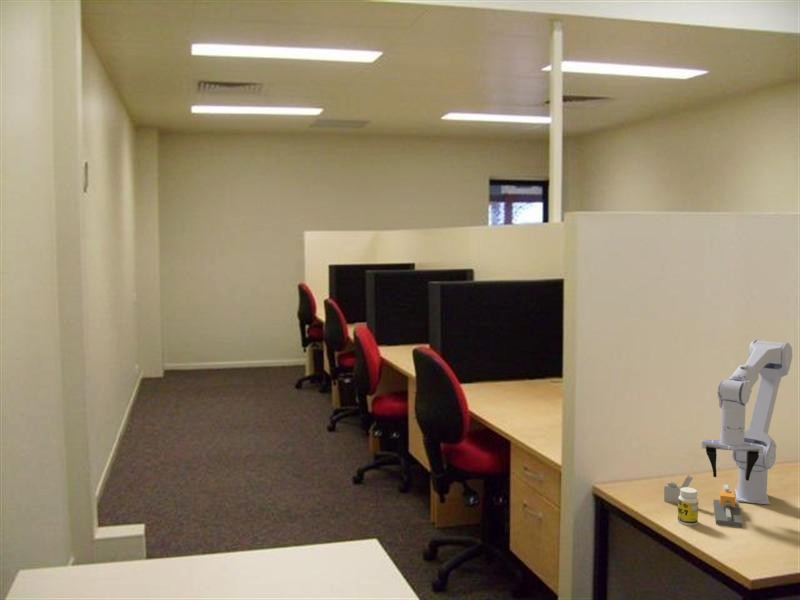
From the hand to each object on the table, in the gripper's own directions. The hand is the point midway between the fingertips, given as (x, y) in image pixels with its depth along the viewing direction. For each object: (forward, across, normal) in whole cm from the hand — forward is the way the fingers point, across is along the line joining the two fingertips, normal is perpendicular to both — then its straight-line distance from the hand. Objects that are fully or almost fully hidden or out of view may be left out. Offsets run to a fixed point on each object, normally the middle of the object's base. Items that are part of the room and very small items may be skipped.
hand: (730, 477), depth 193 cm
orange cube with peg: (+7, -1, 0) cm, 7 cm away
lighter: (+10, -13, +3) cm, 16 cm away
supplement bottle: (+10, -10, -10) cm, 17 cm away
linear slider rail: (+10, -1, -2) cm, 10 cm away
